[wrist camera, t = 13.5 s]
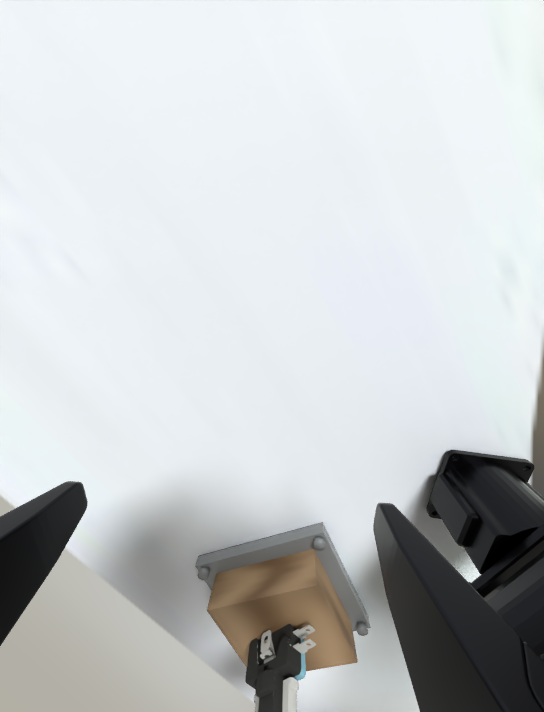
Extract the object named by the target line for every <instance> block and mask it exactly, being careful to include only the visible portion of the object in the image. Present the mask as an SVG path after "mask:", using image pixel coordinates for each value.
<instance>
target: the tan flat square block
mask: <svg viewBox="0 0 544 712" xmlns="http://www.w3.org/2000/svg"><path fill="white" fill-rule="evenodd" d="M207 611H208V613H209V614H210V615H211V617H212V618H213V620H214V621H215V623H216V624H217V625H218V627H219V628H220V630H221V631H222V633H223V634H224V635H225V637H226V638H227V640H228V641H229V643H230V644H231V646H232V647H233V648H234V650H235V651H236V653H237V654H238V656H239V657H240V658H241V660H242V661H243V663H244V664H245V666H246V667H247V662H248V653H249V645H250V642H251V641H252V640H253V639H255V638H257V639H258V640H260V639H262V635H263V633H264V632H266V631H268V630H270V631H271V633H273V632H275V631H276V630H278V629H280V628H282V627H284V626H286V625H287V624H291V625H292V626H293V627H294V628H296V629H299V630H300V629H302V628H304V627H305V626H307V625H310V626H312V627H313V628H314V629H315V631H314V632H312V633H310V634H309V635H307V637H306V638H305V641H306V640H308V639H311V640H312V641H313V642H315V643H316V646H314V647H312V648H310V649H308V650H307V652H305V665H306V671H310V670H316V669H321V668H327V667H333V666H339V665H345V664H351V663H357V662H358V661H357V655H356V649H355V643H354V637H353V631H352V625H351V620H350V618H349V616H348V615H347V613H346V611H345V609H344V607H343V605H342V603H341V601H340V599H339V597H338V595H337V593H336V591H335V589H334V587H333V585H332V583H331V581H330V579H329V577H328V576H327V574H326V572H325V570H324V568H323V566H322V564H321V562H320V560H319V558H318V556H317V554H316V552H315V550H314V549H311V550H307V551H303V552H299V553H295V554H291V555H287V556H283V557H279V558H276V559H272V560H268V561H264V562H260V563H256V564H252V565H248V566H244V567H240V568H236V569H233V570H229V571H225V572H221V573H217V574H216V576H215V580H214V584H213V588H212V592H211V596H210V600H209V604H208V608H207ZM306 631H310V630H309V629H306ZM306 645H311V644H309V643H307V644H306Z"/></svg>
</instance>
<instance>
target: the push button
mask: <svg viewBox="0 0 544 712" xmlns="http://www.w3.org/2000/svg"><path fill="white" fill-rule="evenodd" d="M306 629H309V630H310V631H306ZM314 631H315V629H314V628H313V627H312V626H310V625H307V626H305V627H304V628H302V629H300V630H299V629H296V628H294V627H293V626H292V625H291V624H287V625H286V626H284V627H282V628H280V629H278V630H276V631H275V632H273V633H271V631H270V630H268V631H266V632H264V633H263V635H262V639H260V640H258V639H257V638H255V639H253V640H252V641H251V642H250V645H249V653H248V662H247V671H246V683H247V684H249V685H250V686H251V687H253V688H254V689H256V694H255V697H254V702H255V712H297V690H298V689H299V683H298V680H301V679H303V678H304V677H305V675H306V665H305V652H307V650H308V649H310V648H312V647H314V646H316V643H315V642H313V641H312V640H311V639H308V640H306V641H305V638H306V637H307V635H309V634H310V633H312V632H314ZM307 643H309V644H311V645H306V644H307Z"/></svg>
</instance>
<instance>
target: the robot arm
mask: <svg viewBox="0 0 544 712" xmlns="http://www.w3.org/2000/svg"><path fill="white" fill-rule="evenodd" d="M453 456H455V457H454V458H452V457H453ZM533 470H534V465H533V464H532V463H531V462H529V461H528V460H526V459H518V458H511V457H503V456H496V455H488V454H481V453H473V452H466V451H458V450H450V451H448V452H447V453H446V456H445V458H444V461H443V464H442V467H441V470H440V472H439V475H438V477H437V479H436V482H435V485H434V488H433V491H432V494H431V496H430V501H429V503H428V506H427V512H428V514H429V516H430V517H432V518H438V519H442V520H443V522H444V523H445V525H446V527H447V528H448V530H449V532H450V533H451V535H452V537H453V538H454V540H455V542H456V543H457V544H458V545H459V546H463V547H464V549H465V550H466V552H467V553H468V555H469V557H470V558H471V560H472V561H473V563H474V565H475V566H476V568H477V569H478V571H479V573H480V574H482V575H480V576H479V577H478V578H477V579H475V580H474V581H473V582H472V583H470V582H469V583H468V582H467V581H466V580H465V579H464V577H463V576H462V575H461V574H460V573H459V572H458V571H457V570H456V569H455V568H454V567H453V566H452V565H451V564H450V563H449V562H448V561H447V560H446V559H445V558H444V557H443V556H442V555H441V554H440V552H439V551H438V550H437V549H436V548H435V547H434V546H433V545H432V544H431V543H430V542H429V541H428V540H427V539H426V538H425V537H424V536H423V535H422V534H421V533H420V532H419V531H418V530H417V528H416V527H415V526H414V525H413V524H412V523H411V522H410V521H409V520H408V519H407V518H406V517H405V516H404V515H403V514H402V513H401V512H400V511H399V510H398V509H397V508H396V507H395V506H394V505H393V504H390V503H378V505H377V507H376V513H375V518H374V526H373V527H374V535H375V540H376V545H377V551H378V556H379V561H380V566H381V571H382V576H383V581H384V586H385V591H386V595H387V599H388V603H389V607H390V610H391V613H392V617H393V620H394V624H395V627H396V630H397V634H398V637H399V641H400V644H401V648H402V651H403V654H404V658H405V661H406V665H407V668H408V672H409V675H410V678H411V682H412V685H413V689H414V692H415V695H416V699H417V702H418V706H419V709H420V712H544V497H543V496H542V495H541V494H540V493H539V492H537V491H536V490H535V489H534V488H533V487H532V486H531V485H530V484H529V483H527V482H528V480H529V478H530V476H531V474H532V472H533ZM86 508H87V498H86V494H85V490H84V487H83V484H82V483H81V482H73V481H68V482H65V483H63V484H61V485H59V486H57V487H55V488H53V489H52V490H50V491H48V492H46V493H44V494H42V495H40V496H38V497H36V498H35V499H33V500H31V501H29V502H27V503H25V504H23V505H21V506H19V507H18V508H16V509H14V510H12V511H10V512H8V513H6V514H4V515H3V516H1V517H0V646H1V644H2V643H3V641H4V640H5V638H6V637H7V635H8V634H9V632H10V631H11V629H12V628H13V626H14V625H15V623H16V622H17V620H18V619H19V617H20V616H21V614H22V613H23V611H24V610H25V608H26V607H27V605H28V604H29V603H30V601H31V599H32V598H33V597H34V595H35V594H36V592H37V591H38V589H39V588H40V586H41V585H42V583H43V582H44V580H45V579H46V577H47V576H48V574H49V573H50V571H51V570H52V568H53V566H54V565H55V563H56V562H57V560H58V558H59V557H60V555H61V553H62V551H63V550H64V548H65V546H66V544H67V543H68V541H69V539H70V537H71V535H72V534H73V532H74V530H75V528H76V527H77V525H78V523H79V521H80V520H81V518H82V516H83V514H84V513H85V511H86ZM433 511H434V512H433Z"/></svg>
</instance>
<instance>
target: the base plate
mask: <svg viewBox="0 0 544 712" xmlns="http://www.w3.org/2000/svg"><path fill="white" fill-rule="evenodd" d="M311 549H314V550H315V552H316V554H317V556H318V558H319V560H320V562H321V564H322V566H323V568H324V570H325V572H326V574H327V576H328V577H329V579H330V581H331V583H332V585H333V587H334V589H335V591H336V593H337V595H338V597H339V599H340V601H341V603H342V605H343V607H344V609H345V611H346V613H347V615H348V616H349V618H350V620H351V625H352V631H357V632H358V634H359V635H361V636H365V635H367V634H368V629H367V628H370V624H369V619H368V615H367V613H366V611H365V609H364V607H363V605H362V603H361V601H360V599H359V597H358V595H357V593H356V591H355V588H354V586H353V584H352V582H351V580H350V578H349V576H348V574H347V572H346V570H345V568H344V566H343V564H342V562H341V560H340V558H339V556H338V553H337V551H336V549H335V547H334V545H333V543H332V541H331V539H330V537H329V535H328V533H327V531H326V529H325V527H324V525H323V523H318V524H315V525H311V526H307V527H304V528H300V529H296V530H293V531H289V532H285V533H282V534H278V535H274V536H271V537H267V538H263V539H260V540H256V541H252V542H249V543H245V544H241V545H238V546H234V547H230V548H227V549H223V550H219V551H216V552H212V553H208V554H205V555H201V556H199V557H198V560H197V563H196V566H195V567H196V568H197V569H198V571H199V574H198V577H199V579H201V580H205V581H206V583H207V584H208V586H209V587H210V589H211V590H212V588H213V584H214V580H215V576H216V574H217V573H221V572H225V571H229V570H233V569H236V568H240V567H244V566H248V565H252V564H256V563H260V562H264V561H268V560H272V559H276V558H279V557H283V556H287V555H291V554H295V553H299V552H303V551H307V550H311Z"/></svg>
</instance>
